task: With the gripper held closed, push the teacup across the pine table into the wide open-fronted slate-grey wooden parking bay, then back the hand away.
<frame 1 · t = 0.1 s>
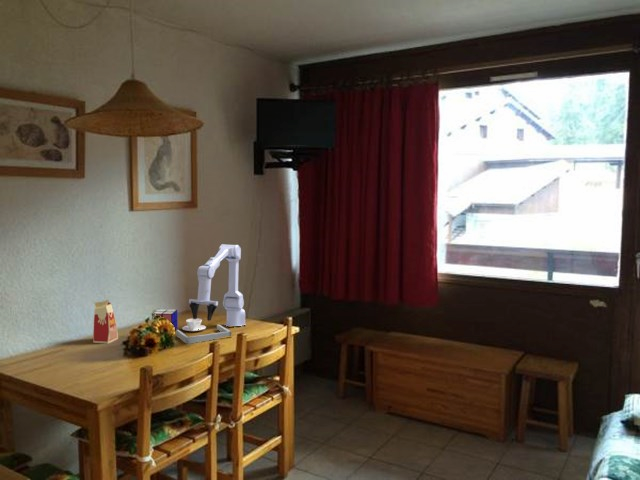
hand: (202, 319, 256), 11 cm above the table, tool pointing down, fingers open, 7 cm apart
bay: (203, 336, 265), on the table
teacup: (194, 330, 277), on the table
milk carton: (104, 341, 256), on the table
puzzle cube: (165, 331, 275), on the table
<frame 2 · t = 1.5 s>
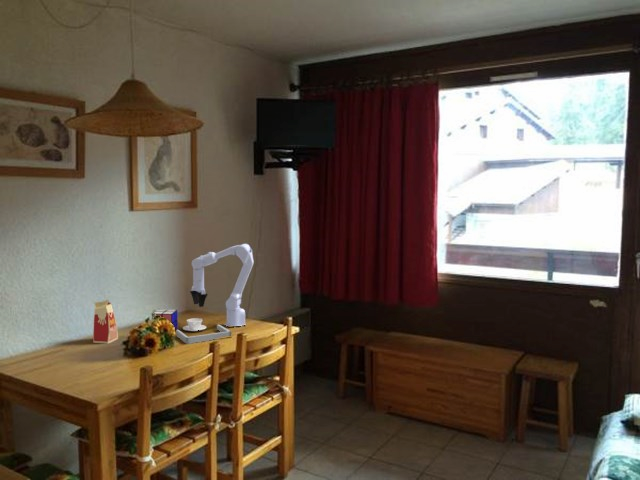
hand: (198, 305, 287), 10 cm above the table, tool pointing down, fingers open, 7 cm apart
nothing on the table moved.
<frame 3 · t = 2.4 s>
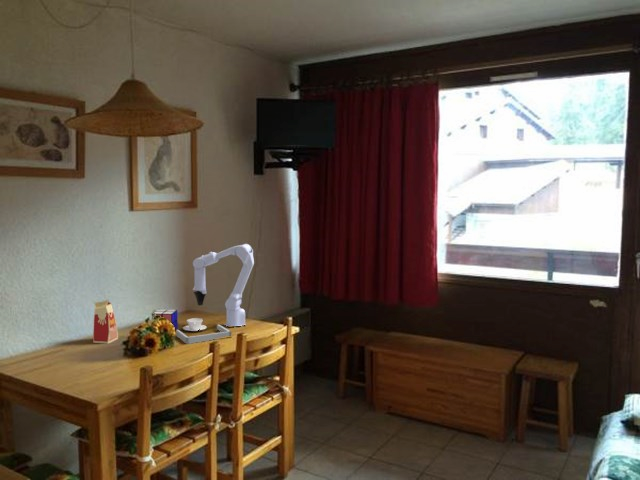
hand: (200, 305, 288), 10 cm above the table, tool pointing down, fingers closed
nothing on the table moved.
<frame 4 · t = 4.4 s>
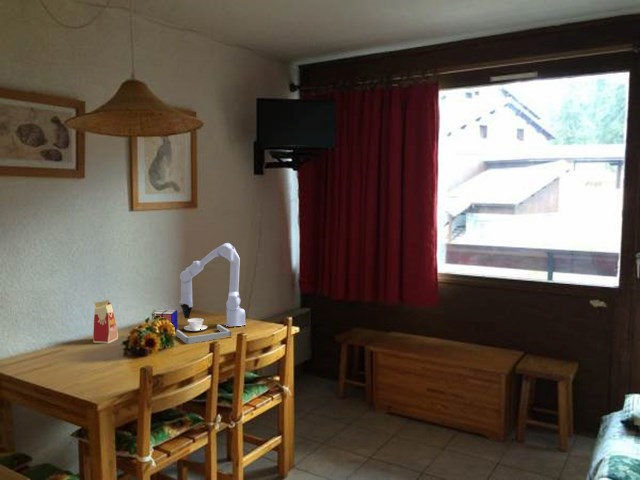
hand: (186, 318, 286), 4 cm above the table, tool pointing down, fingers closed
nothing on the table moved.
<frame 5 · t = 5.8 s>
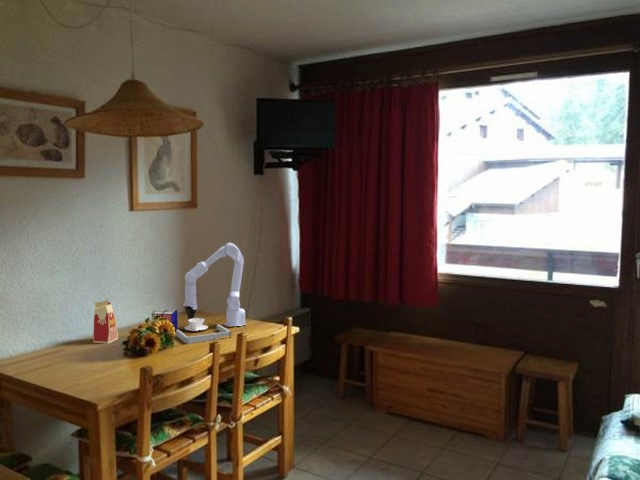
hand: (190, 320, 280), 4 cm above the table, tool pointing down, fingers closed
teacup: (196, 330, 277), on the table, touching gripper
everything else where it was.
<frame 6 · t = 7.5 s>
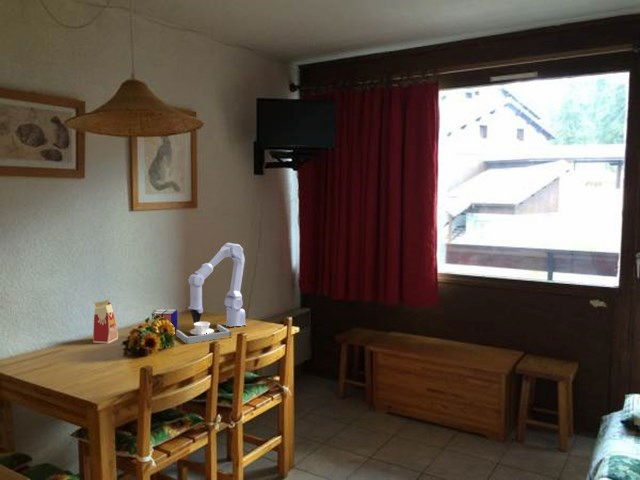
hand: (196, 324, 273), 4 cm above the table, tool pointing down, fingers closed
teacup: (202, 334, 270), on the table, touching gripper
everything else where it was.
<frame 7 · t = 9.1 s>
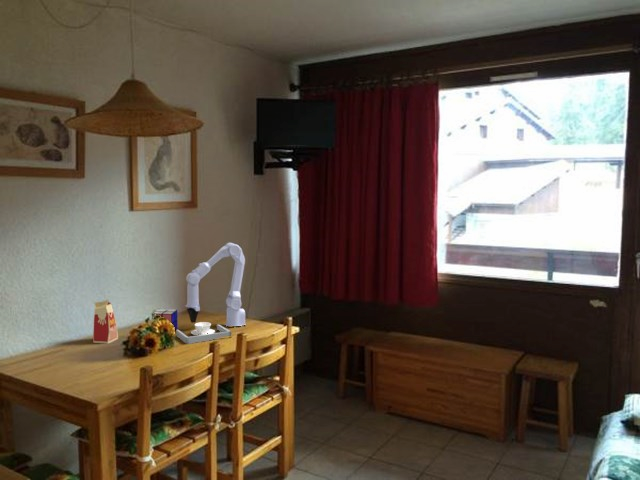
hand: (193, 322, 277), 4 cm above the table, tool pointing down, fingers closed
teacup: (202, 334, 269), on the table
everything else where it was.
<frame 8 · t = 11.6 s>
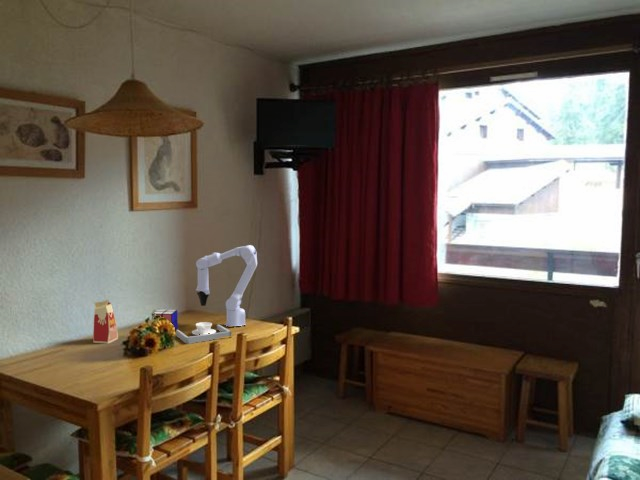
hand: (203, 305, 287), 10 cm above the table, tool pointing down, fingers closed
nothing on the table moved.
at the end: teacup inside the target area on the bay (4.8 cm from its centre), point 0.0 cm above the bay's base; teacup tilted 0°; teacup moved 10.3 cm from its start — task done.
